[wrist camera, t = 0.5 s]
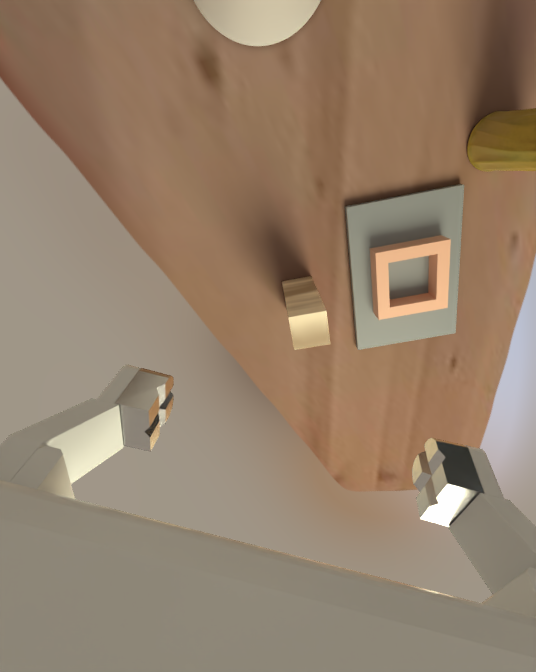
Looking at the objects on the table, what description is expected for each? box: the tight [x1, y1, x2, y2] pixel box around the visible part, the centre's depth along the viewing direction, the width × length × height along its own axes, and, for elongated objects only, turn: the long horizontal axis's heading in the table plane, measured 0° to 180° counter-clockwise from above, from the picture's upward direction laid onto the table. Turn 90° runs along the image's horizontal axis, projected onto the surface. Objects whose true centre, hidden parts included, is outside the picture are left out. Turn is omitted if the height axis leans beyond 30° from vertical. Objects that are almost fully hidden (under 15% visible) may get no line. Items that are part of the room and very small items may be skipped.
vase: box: [467, 108, 536, 171], centre depth 35 cm, size 6×6×14 cm
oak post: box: [282, 276, 330, 350], centre depth 44 cm, size 4×4×12 cm
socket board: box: [345, 184, 464, 350], centre depth 47 cm, size 20×14×4 cm
